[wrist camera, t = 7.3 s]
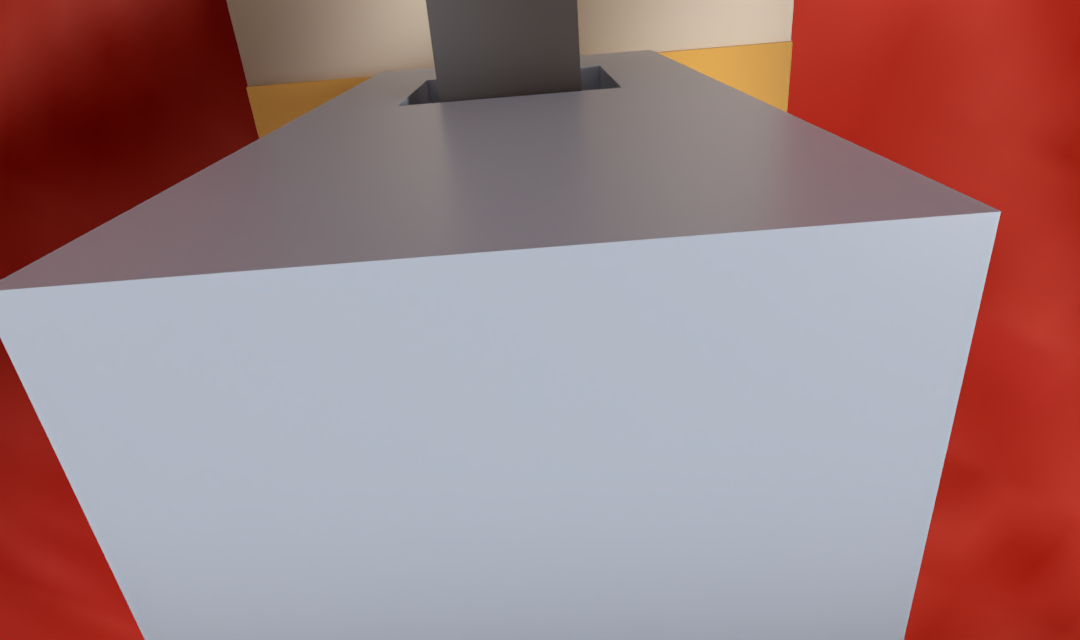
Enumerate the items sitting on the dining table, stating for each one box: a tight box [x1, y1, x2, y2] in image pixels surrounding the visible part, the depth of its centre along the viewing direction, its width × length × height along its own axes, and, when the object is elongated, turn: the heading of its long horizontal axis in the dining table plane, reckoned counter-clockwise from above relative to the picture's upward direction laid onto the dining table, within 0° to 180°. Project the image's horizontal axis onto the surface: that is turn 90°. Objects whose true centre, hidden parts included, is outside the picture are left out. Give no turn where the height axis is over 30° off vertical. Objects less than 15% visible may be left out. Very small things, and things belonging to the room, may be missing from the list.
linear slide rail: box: [226, 0, 794, 139], centre depth 12 cm, size 10×34×8 cm, turn 4°
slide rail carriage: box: [0, 50, 1001, 640], centre depth 8 cm, size 4×4×9 cm
